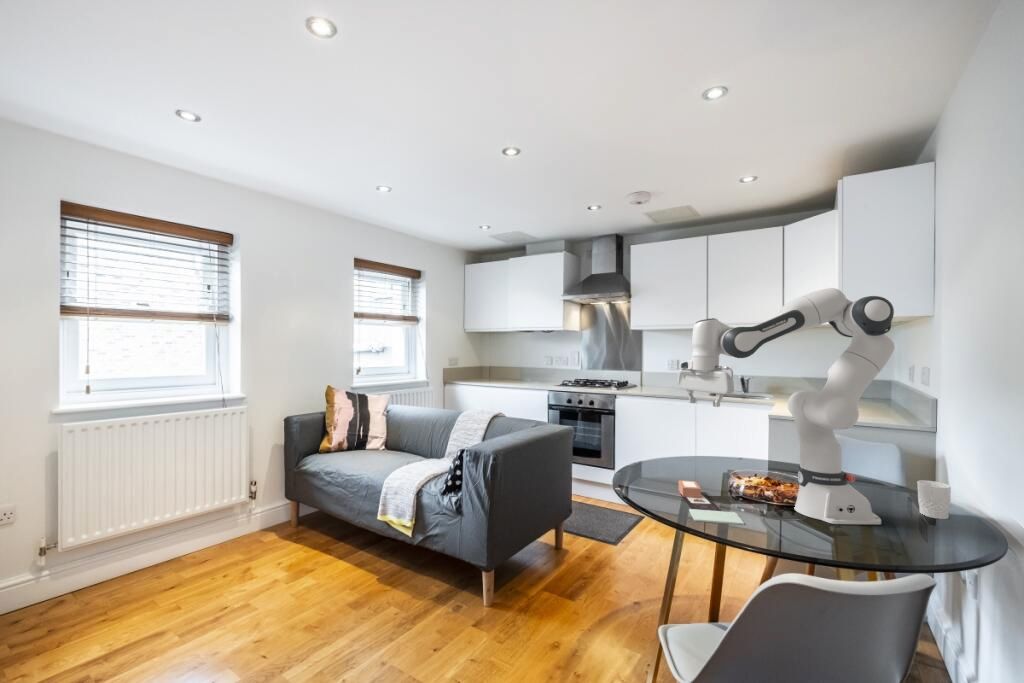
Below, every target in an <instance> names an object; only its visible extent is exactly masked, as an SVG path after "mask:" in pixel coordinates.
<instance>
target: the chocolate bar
mask: <svg viewBox="0 0 1024 683" xmlns="http://www.w3.org/2000/svg"><path fill="white" fill-rule="evenodd" d="M680 495H681V496H682V494H680V493H679V496H680ZM681 496H680V497H681ZM682 498H683V499H684V500H685V501H684V500H683V499H682ZM681 499H682V500H683V501H684V502H685V504H686V505H687V504H688V505H689V506H688V505H687V506H688V508H689V509H697V510H711V511H722V509H720V507H719V506H717V504H716V503H715V502H713V500H712V499H711V498H710V497H709V496H708V495H706V494H701V498H692V497H683V496H682V497H681Z"/></svg>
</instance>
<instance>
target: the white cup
mask: <svg viewBox="0 0 1024 683" xmlns="http://www.w3.org/2000/svg"><path fill="white" fill-rule="evenodd" d="M916 483H917V484H916V486H917V499H918V500H917V501H918V507H919V514H920V513H921V515H922V514H923V515H922V516H924V515H925V517H928V518H932V519H937V518H938V519H939V520H947V519H949V513H950V512H949V510H950V505H951V492H952V491H951V489H952V487H951V485H950V484H949V485H948V484H946V483H943V482H940V481H939V482H938V481H933V480H926V479H925V480H923V479H921V480H918V481H916ZM938 519H937V520H938Z"/></svg>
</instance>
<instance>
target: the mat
mask: <svg viewBox="0 0 1024 683" xmlns="http://www.w3.org/2000/svg"><path fill="white" fill-rule="evenodd" d="M688 511H689V513H690V515H691V517H692V519H693V520H694V522H703V523H716V524H717V523H718V524H729V525H731V524H732V525H742V526H744V525H745V522H744V521H743V519H742V518H741V517H740V516H739V515H738V513H737V512H733V511H723V510H721V511H711V510H697V509H691V508H689V509H688Z"/></svg>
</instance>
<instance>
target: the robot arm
mask: <svg viewBox="0 0 1024 683" xmlns="http://www.w3.org/2000/svg"><path fill="white" fill-rule="evenodd" d="M894 314H895V308H894V306H893V304H892V303H891V301H889V299H887V298H885V297H883V296H878V295H870V296H869V295H868V296H864V297H861V298H859V299H858V300H855V301H851V300H849V299H848V298H847V296H846V295H845V294H844V293H843V292H842V290H840V289H838V288H834V287H828V288H823V289H819V290H815V291H813V292H810V293H806V294H803V295H802V296H799V297H797V298H795V299H793V300H791V301H789V302H788V303H786V304H784V305H783V306H782V307H781V308H780V310H779V314H777V315H776V316H775V317H772V318H770V319H768V320H766V321H763V322H761V323H758V324H756V325H753V326H737V327H735V328H734V327H732V326H729V325H728V324H725V323H723V322H722V321H720V320H718V319H717V318H714V317H712V318H707V319H701V320H698V321H696V322H695V323H694V324H693V328H692V334H691V337H692V338H691V346H692V352H691V359H688V360H685V361H682V362H679V364H678V368H679V370H678V373H677V387H678V389H679V390H686V395H687V397H688V400H689V402H688V403H689V404H696V403H697V398H695V396H694V395H693V394H694V392H701V393H709V394H710V393H711V394H715V397H716V399H715V400H714V401H712V407H715V408H720V406H721V401H722V400H723V399H724V395H733V393H735V392H734V391H735V383H734V371H733V369H732V368H730V367H729V366H722V365H720V355H721V354H722V355H725V356H727V357H733V358H737V359H746V358H748V357H751V356H752V355H754V353H755V352H757V351H758V350H759V349H760V348H761V347H762V346H764V345H765V344H767V343H768V342H770V341H771V342H772V341H774V340H775V339H778V338H780V337H783V336H786V335H787V334H793V333H800V332H804V331H807V330H810V329H814V328H816V327H818V326H821V325H823V324H826V323H828V324H829V325H831V327H833V330H834V331H835V332H836V333H838V335H840V336H842V337H845V338H852V339H851V342H850V344H849V346H848V347H847V348H846V349H845V350H844V351H843V352H842V353H841V354H840V356H839V357H838V358H837V359H836V360H835V362H834V363H833V364H832V365H831V366H830V367H829V369H828V370H827V372H826V374H827V380H826V383H825V385H824V386H823V388H822V389H821V390H820V391H818V390H812V389H805V390H800V391H799V390H798V391H796V392H794V393H792V394H790V397H789V398H788V401H787V408H788V411H789V413H790V414H791V415H792V418H793V421H794V426H795V428H796V432H797V435H798V440H799V442H798V443H799V465H798V469H797V470H798V472H797V480H798V485H799V486H798V492H797V496H796V497H797V498H796V501H795V504H794V506H795V507H793V508H794V509H793V510H794V511H796V512H797V513H799V514H801V515H803V516H805V517H808V518H812V519H816V520H820V521H823V522H826V523H828V524H832V525H882V519H881V517H880V516H879V515H877V514H876V513H875V512H873V511H872V510H873V509H872V505H871V503H870V501H869V499H868V498H867V497H866V496H865V495H864V494H862V493H861V492H860V491H859V490H857V489H856V488H854V487H853V486H852V485H850V484H849V482H850V483H854V482H855V481H856V477H855V475H852V474H850V473H849V474H848V473H846V472H844V471H843V470H842V445H841V444H840V443H839V441H838V439H837V438H836V436H835V433H834V430H835V431H836V430H848V429H851V428H852V427H853V426H854V425H855V424H856V423H857V422H858V419H859V417H860V416H859V415H860V413H859V409H858V405H859V401H860V399H861V397H862V395H863V393H864V392H865V390H866V389H867V388H868V387H869V385H870V384H871V383H872V382H873V380H874V379H875V378H876V377H877V376H878V375H879V373H880V372H881V371H882V370H883V368H884V367H885V366H886V365H887V363H888V362H889V361H890V358H891V357H892V355H893V352H894V351H895V346H896V345H895V342H894V341H893V339H891V338H890V337H889V336H888V335H886V334H887V333H889V332H890V330H891V329H892V322H893V318H894Z"/></svg>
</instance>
